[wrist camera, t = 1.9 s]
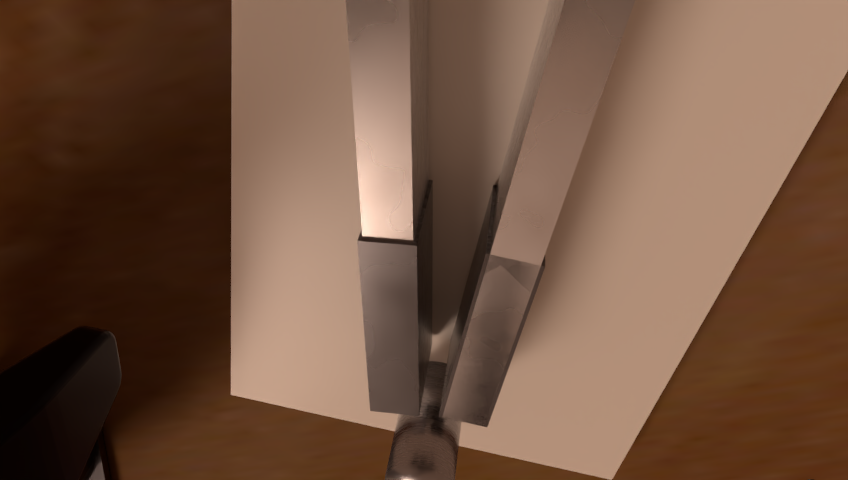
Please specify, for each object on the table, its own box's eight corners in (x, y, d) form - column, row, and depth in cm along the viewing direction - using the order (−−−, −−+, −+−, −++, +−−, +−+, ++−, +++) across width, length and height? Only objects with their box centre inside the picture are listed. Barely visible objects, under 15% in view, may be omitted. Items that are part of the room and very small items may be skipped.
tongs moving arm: (432, 343, 22) (419, 416, 20) (347, 335, 22) (325, 406, 20) (434, -278, 13) (410, -277, 10) (290, -277, 13) (235, -276, 11)
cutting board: (609, 456, 26) (611, 479, 25) (240, 373, 26) (230, 394, 25) (1049, -338, 12) (1085, -342, 11) (253, -508, 12) (233, -524, 11)
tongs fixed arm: (510, 419, 24) (505, 526, 21) (402, 395, 24) (380, 498, 21) (761, -228, 13) (835, -210, 9) (555, -273, 13) (559, -269, 10)
